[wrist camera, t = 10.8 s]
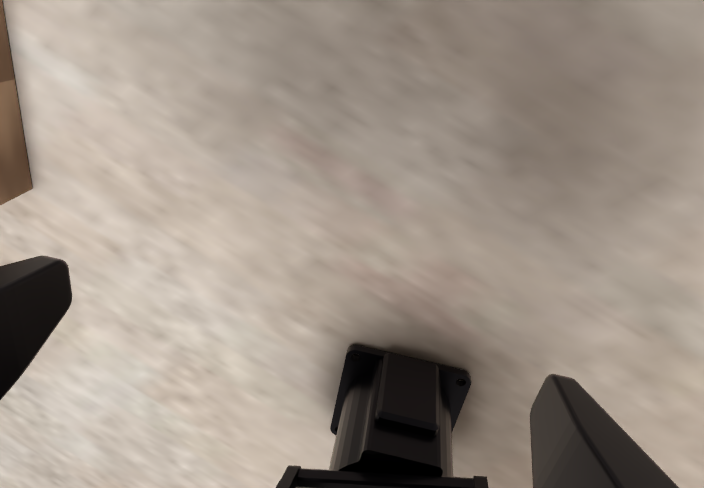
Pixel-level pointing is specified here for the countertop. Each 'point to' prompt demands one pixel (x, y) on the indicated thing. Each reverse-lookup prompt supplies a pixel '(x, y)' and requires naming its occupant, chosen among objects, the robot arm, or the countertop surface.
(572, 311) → the countertop surface
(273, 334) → the countertop surface
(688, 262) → the countertop surface
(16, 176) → the brown slotted board
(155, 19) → the countertop surface
